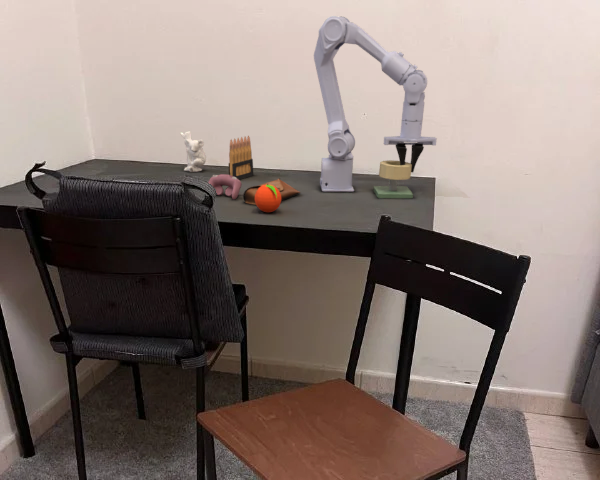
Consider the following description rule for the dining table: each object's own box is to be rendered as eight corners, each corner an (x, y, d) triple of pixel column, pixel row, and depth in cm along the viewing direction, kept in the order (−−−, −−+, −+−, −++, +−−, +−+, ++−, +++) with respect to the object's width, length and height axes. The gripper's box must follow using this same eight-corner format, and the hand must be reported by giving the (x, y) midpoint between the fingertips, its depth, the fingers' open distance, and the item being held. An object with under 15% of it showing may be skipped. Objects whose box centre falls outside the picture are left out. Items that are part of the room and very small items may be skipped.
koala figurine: (177, 171, 203) (174, 131, 197) (191, 167, 208) (188, 129, 202) (197, 174, 200) (194, 134, 193) (210, 170, 205) (208, 131, 198)
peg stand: (378, 198, 176) (379, 175, 172) (373, 190, 184) (374, 168, 181) (412, 198, 176) (415, 175, 173) (406, 190, 185) (408, 168, 181)
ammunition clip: (233, 181, 192) (231, 139, 186) (228, 180, 193) (226, 139, 186) (253, 175, 200) (252, 135, 193) (249, 174, 200) (247, 134, 194)
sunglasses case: (268, 205, 165) (257, 181, 163) (250, 215, 169) (239, 192, 168) (302, 192, 178) (292, 170, 176) (284, 202, 182) (274, 180, 181)
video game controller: (240, 203, 175) (244, 177, 174) (234, 198, 170) (238, 173, 170) (209, 199, 177) (212, 175, 177) (202, 195, 173) (206, 170, 172)
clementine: (288, 214, 159) (288, 185, 156) (265, 217, 156) (265, 189, 153) (272, 207, 165) (272, 179, 161) (250, 210, 162) (249, 182, 158)
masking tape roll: (381, 179, 174) (383, 165, 172) (377, 172, 181) (378, 159, 179) (412, 180, 174) (414, 167, 172) (406, 173, 181) (408, 161, 180)
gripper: (388, 122, 166) (384, 174, 173) (441, 122, 167) (435, 174, 174) (384, 118, 172) (380, 169, 179) (435, 119, 173) (429, 169, 180)
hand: (406, 171), depth 177 cm, fingers closed on masking tape roll, 2 cm apart
